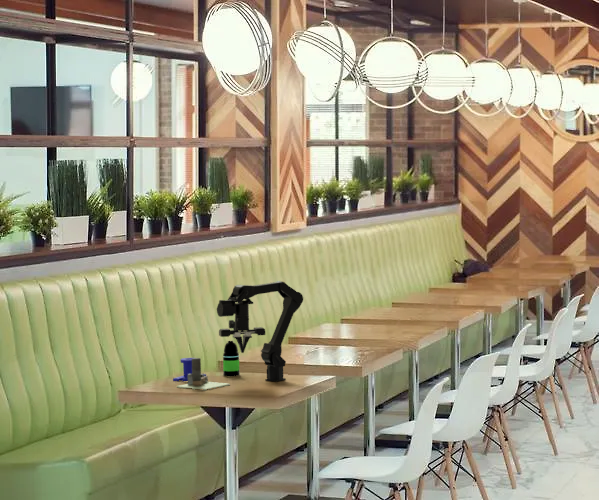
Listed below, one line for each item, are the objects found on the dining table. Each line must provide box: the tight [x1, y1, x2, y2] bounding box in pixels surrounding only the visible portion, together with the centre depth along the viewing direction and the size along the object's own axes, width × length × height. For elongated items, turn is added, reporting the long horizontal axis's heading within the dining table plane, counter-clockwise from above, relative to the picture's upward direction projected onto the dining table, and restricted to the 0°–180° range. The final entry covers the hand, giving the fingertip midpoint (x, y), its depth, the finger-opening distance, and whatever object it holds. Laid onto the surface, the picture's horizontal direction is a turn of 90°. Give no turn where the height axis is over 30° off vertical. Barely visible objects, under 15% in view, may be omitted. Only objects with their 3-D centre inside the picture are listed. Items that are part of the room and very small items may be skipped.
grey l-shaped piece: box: [191, 357, 209, 386], centre depth 506 cm, size 14×4×11 cm, turn 171°
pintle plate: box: [176, 381, 231, 391], centre depth 505 cm, size 16×15×1 cm
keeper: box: [187, 373, 205, 385], centre depth 506 cm, size 3×6×5 cm, turn 78°
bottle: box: [222, 340, 241, 377], centre depth 533 cm, size 7×7×15 cm
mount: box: [172, 357, 207, 382], centre depth 527 cm, size 15×8×9 cm, turn 153°
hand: (242, 352), depth 508 cm, fingers closed
